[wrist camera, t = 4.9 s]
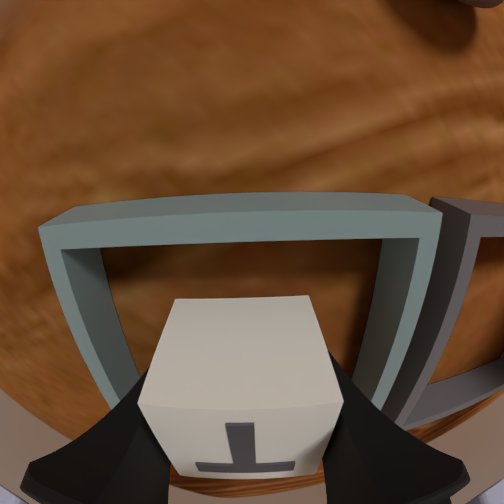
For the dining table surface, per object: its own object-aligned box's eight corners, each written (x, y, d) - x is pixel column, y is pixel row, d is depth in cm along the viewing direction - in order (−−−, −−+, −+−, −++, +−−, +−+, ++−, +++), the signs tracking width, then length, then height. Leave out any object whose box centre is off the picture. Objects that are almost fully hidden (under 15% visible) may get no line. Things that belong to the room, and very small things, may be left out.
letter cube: (308, 295, 10) (344, 404, 6) (299, 382, 12) (315, 475, 8) (175, 298, 10) (136, 406, 6) (194, 385, 12) (179, 477, 8)
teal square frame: (404, 194, 9) (442, 212, 7) (353, 409, 14) (363, 441, 12) (75, 206, 9) (37, 227, 7) (144, 414, 14) (135, 446, 12)
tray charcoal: (554, 212, 10) (579, 224, 7) (500, 363, 14) (514, 382, 12) (432, 196, 9) (471, 214, 7) (374, 405, 14) (385, 436, 12)
